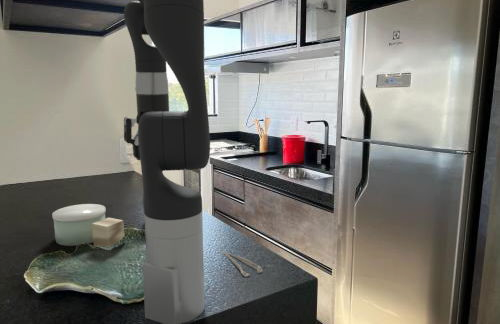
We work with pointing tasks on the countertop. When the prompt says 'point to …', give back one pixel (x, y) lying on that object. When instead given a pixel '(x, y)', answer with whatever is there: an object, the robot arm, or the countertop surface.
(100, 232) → the beech block
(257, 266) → the tweezers
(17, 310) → the countertop surface
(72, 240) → the round lidded container
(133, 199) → the countertop surface
